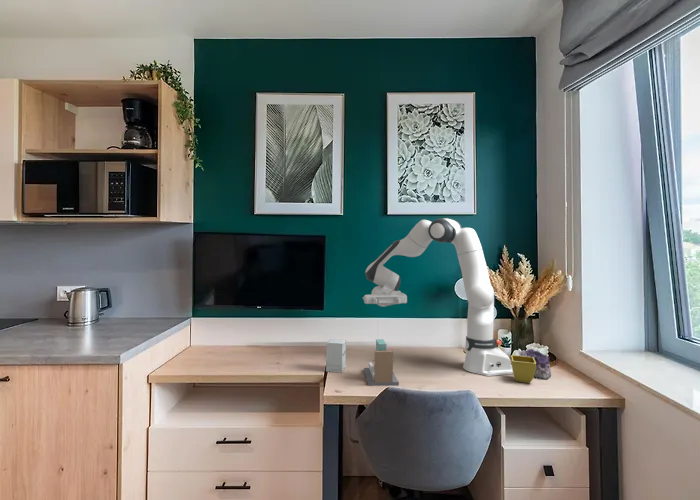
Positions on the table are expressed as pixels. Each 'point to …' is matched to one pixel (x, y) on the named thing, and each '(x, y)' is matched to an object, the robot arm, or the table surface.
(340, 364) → the supplement box
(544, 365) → the geode
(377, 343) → the teal rectangular block
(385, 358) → the track base
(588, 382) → the table surface
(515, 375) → the flower pot
